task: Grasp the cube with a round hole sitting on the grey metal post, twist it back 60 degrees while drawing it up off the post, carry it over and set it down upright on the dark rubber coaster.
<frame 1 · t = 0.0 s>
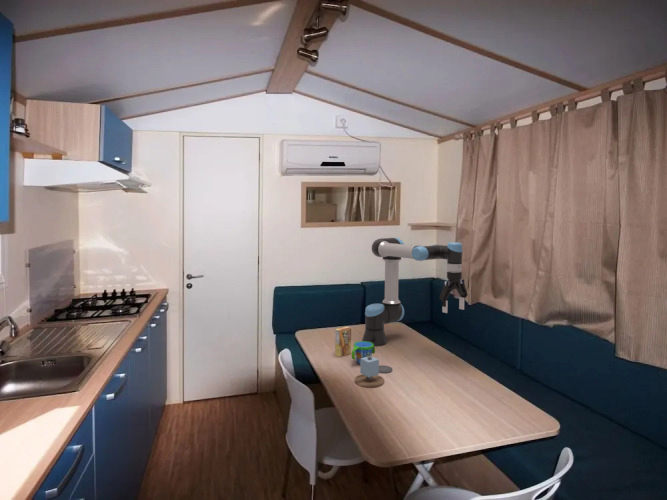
hand: (453, 310, 213), 28 cm above the table, fingers open, 13 cm apart
snack cup: (363, 362, 215), on the table
post stand: (369, 381, 190), on the table
candy box: (343, 354, 227), on the table
cube with round hole: (369, 373, 190), point 4 cm above the table, touching post stand
coaster: (383, 369, 204), on the table
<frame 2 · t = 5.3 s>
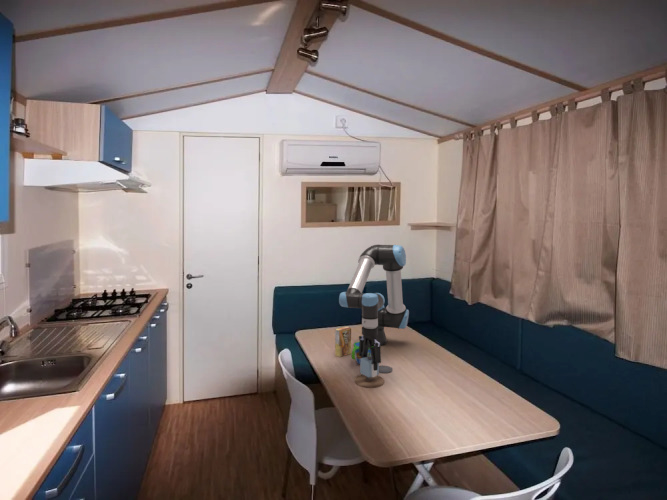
hand: (369, 373, 190), 4 cm above the table, fingers closed on cube with round hole, 6 cm apart
cube with round hole: (369, 373, 190), point 4 cm above the table, touching gripper, post stand
everything else where it was.
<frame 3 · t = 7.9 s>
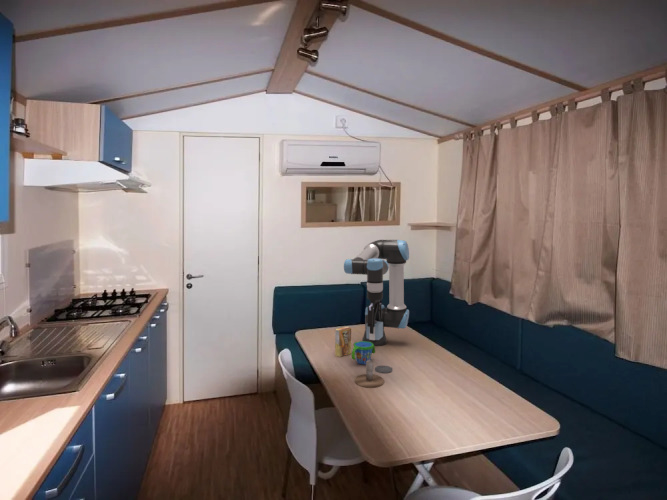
hand: (374, 337, 194), 20 cm above the table, fingers closed on cube with round hole, 6 cm apart
cube with round hole: (374, 337, 193), point 20 cm above the table, touching gripper
everything else where it was.
when the fingers open (2 cm above the table, at t = 10.9 s): cube with round hole drops 2 cm, resting on coaster.
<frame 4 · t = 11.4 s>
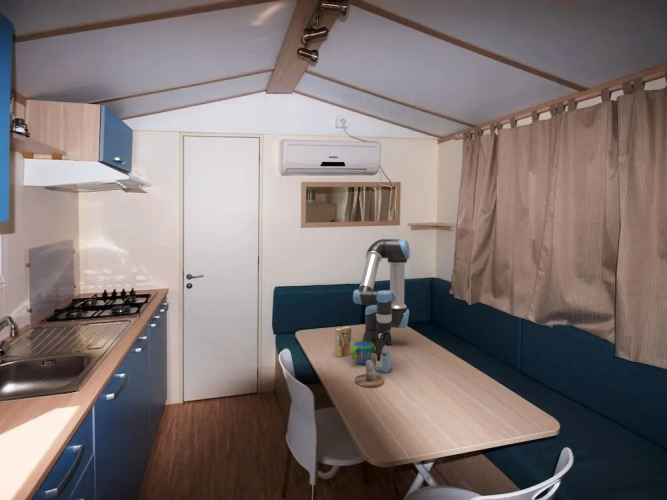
hand: (383, 362, 204), 4 cm above the table, fingers open, 13 cm apart
cube with round hole: (383, 368, 204), point 1 cm above the table, touching coaster
everything else where it was.
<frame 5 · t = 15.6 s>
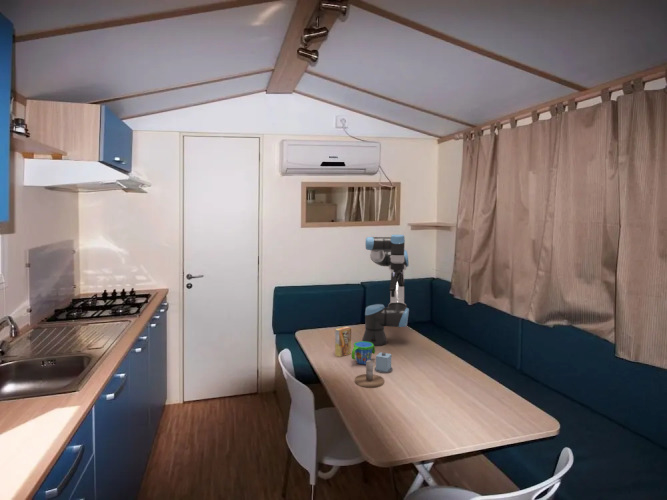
hand: (396, 300, 223), 32 cm above the table, fingers open, 13 cm apart
nothing on the table moved.
at the end: cube with round hole inside the target area on the coaster (0.0 cm from its centre), point 0.6 cm above the coaster's base; cube with round hole tilted 0°; the gripper is holding nothing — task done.
